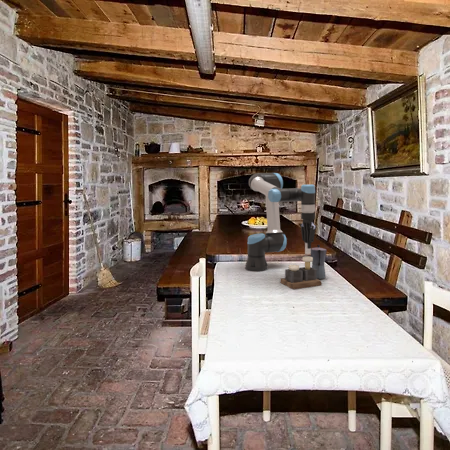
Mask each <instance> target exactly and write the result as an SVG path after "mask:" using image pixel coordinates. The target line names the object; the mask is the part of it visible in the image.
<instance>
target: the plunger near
mask: <svg viewBox="0 0 450 450" xmlns="http://www.w3.org/2000/svg"><path fill="white" fill-rule="evenodd" d="M299 268H300V265H298V264H289V265H288V269H289V270H291V271H292V272H293V271H297V270H299Z"/></svg>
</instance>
